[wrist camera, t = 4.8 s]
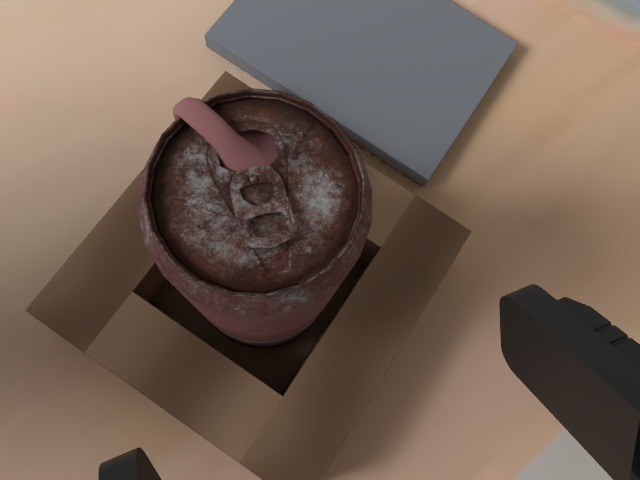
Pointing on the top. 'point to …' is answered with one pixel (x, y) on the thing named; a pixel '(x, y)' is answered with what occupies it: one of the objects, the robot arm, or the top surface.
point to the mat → (372, 67)
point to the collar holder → (224, 374)
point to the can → (255, 211)
